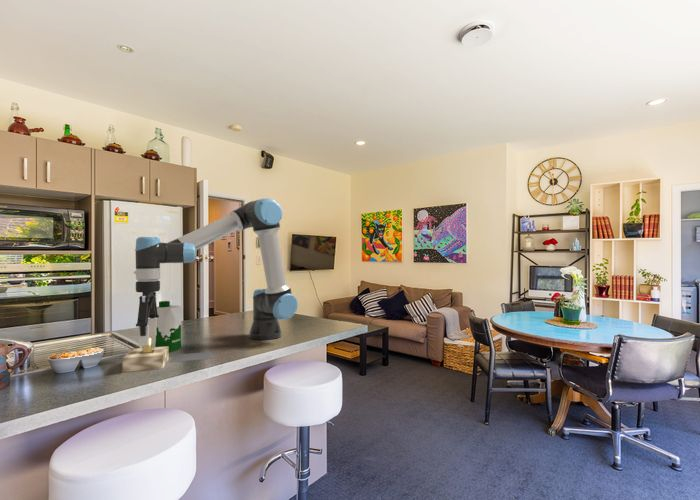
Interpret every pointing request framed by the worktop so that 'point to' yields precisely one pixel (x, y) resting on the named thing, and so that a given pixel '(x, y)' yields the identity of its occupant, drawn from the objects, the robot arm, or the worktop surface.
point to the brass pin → (147, 346)
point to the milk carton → (168, 326)
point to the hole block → (145, 359)
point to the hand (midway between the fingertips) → (148, 340)
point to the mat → (191, 356)
